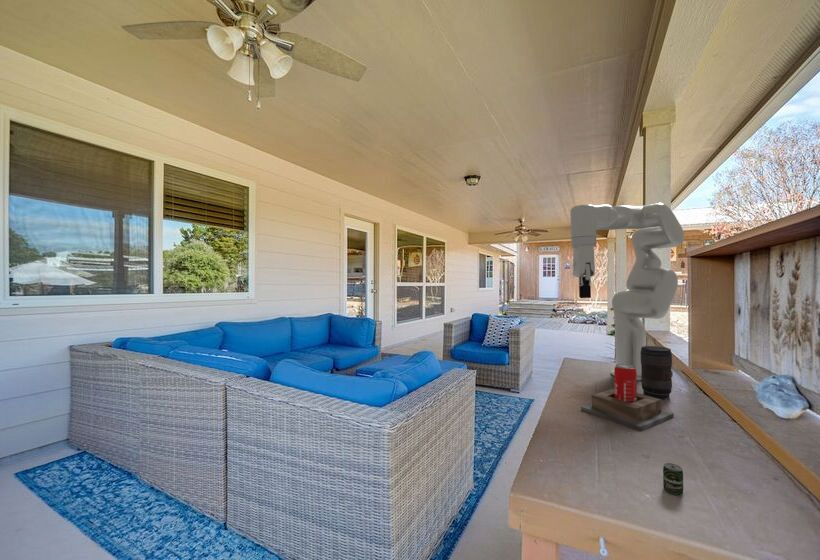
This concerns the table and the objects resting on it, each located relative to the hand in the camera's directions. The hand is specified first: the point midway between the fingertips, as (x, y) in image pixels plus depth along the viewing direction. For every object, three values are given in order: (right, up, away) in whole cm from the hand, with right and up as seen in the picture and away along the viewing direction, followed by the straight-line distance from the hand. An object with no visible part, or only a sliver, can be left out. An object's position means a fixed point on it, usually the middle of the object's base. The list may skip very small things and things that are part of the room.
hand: (585, 297), depth 119 cm
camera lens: (+19, -31, -7) cm, 36 cm away
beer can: (-12, -32, -55) cm, 65 cm away
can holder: (+1, -31, -21) cm, 37 cm away
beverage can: (+1, -30, -21) cm, 36 cm away
